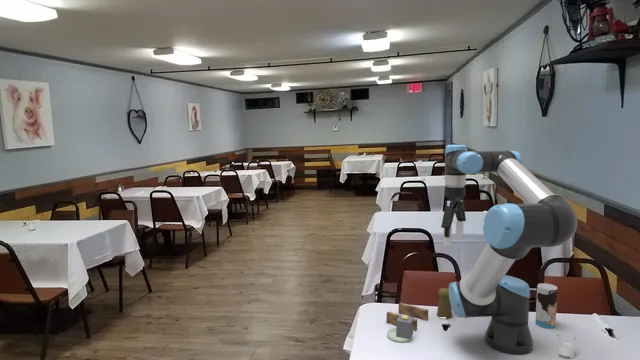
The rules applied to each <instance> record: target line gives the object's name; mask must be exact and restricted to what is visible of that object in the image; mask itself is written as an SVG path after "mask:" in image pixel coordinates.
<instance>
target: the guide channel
mask: <svg viewBox="0 0 640 360" xmlns="http://www.w3.org/2000/svg"><path fill="white" fill-rule="evenodd" d="M399 315H408V316H409V317H413V332H416V331H417V330H418V319H419V320H423V321H428V320H429V309H427V308H423V307H420V306H415V305H411V304H408V303H403V302H399V303H398V313H395V312H391V311H387V312H386V324H389V325H393V326H396V321H397V319H398V317H399Z"/></svg>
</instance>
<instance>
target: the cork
mask: <svg viewBox="0 0 640 360" xmlns="http://www.w3.org/2000/svg"><path fill="white" fill-rule="evenodd" d="M437 294H438V297H439V299H438V304H437V309H436V310H437V312H436V317H438V318H440V317H446V318H447V319H446V320H449V319H452V318H453V311H452V308H451V304H450V299H449V288H448V287H447V288H446V287H441V288H439V290H438V293H437Z"/></svg>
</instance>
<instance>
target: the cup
mask: <svg viewBox="0 0 640 360" xmlns="http://www.w3.org/2000/svg"><path fill="white" fill-rule="evenodd" d="M557 303H558V286H557V285H555V284H550V283H537V286H536V307H535V322H534V323H535V325H537V326H538V327H540V328H542V329H549V330H551V329H555V328H556V323H557V322H556V321H557Z"/></svg>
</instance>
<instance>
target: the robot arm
mask: <svg viewBox="0 0 640 360" xmlns="http://www.w3.org/2000/svg"><path fill="white" fill-rule="evenodd" d="M444 160H445V161H444V176H443V179H444V185H445V186H444V192H443V193H444V196H445V197H446V198H448V200H445V201H444V210H443V215H442V221H441V225H440V228H443V246H447V247H448V246H449V247H452V244H453V243H452V240H453V239H452V235H453V234H452V232H453V228H452V225H453V220H454V217H456V221H455V238H459V239H463V238H464V222H466V221H467V217H466V211H465V204H464V201H465V200H464V199H465V198H464V197H466V189H467V188H466V187H465V186H466V184H467V175H475V174H483V173H485V174H487V173H492V174H493V173H497V175H498V176H499V177H501V179H502V180H503V181H504V183H506V184H507V185H508V186H509V188H511V190H512V191H513V192H514V193H515V194H516V195H517V196H518V197H519V198H520V199H521V200H522V202H523V203H504V204H496V205H493V206H492V207H491V208H489V209H488V211H487V212H486V213H485V216H484V219H483V223H484V224H483V225H482V232H483V237H484V240H485V241H486V245H485V247H484V248H483V250H482V252H481V254H480V255H479V257H478V259H477V261H476V262H475V264H474V266H473V267H472V270H471V271H470V272H469V273H466V274H465V275H464V276H462V278H461V279H460V281H454V282H450V283H449V285H448V289H449V299H450V304H451V309H452V314H454V316H455V317H457V318H465V319H467V318H483V317H484V318H485V317H489V318H490V317H491V318H490V321H489V324H488V327H487V328H486V331H485V335H484V336H485V337H484V338H485V343H486V344H487V345H488V346H489V347H491V348H492V349H494V350H496V351H499V352H502V353H504V354H511V355H524V354H528V353H530V352H532V351H533V349H534V348H533V347H534V340H533V337H532V333H531V329H530V327H529V314H530V298H531V294H530V293H531V292H530V291H531V290H530V286H529V284H528V283H527V282H526V281H524V280H523V279H521V278H519V277H514V276H511V275H507V274H508V271H509V270H510V268H511V267H512V266H513V264H514V263H515V261H516V260H520V259H523V258H524V257H525V256H526V257H527V255H528V253H529V252H530V250H531V249H532V248H546V247H547V248H548V247H549V248H551V247H552V248H553V247H557V246H561V245H563V244H565V243H566V242H568V241H570V240H571V239H572V237H573V236H574V234H575V233H576V230H577V228H578V216H577V213H576V211H575V209H574V207H573V206H572V204H571V203H570V202H569V201H568V200H567V199H566V198H564V197H563V196H562V195H560V194H556V193H554V192H552V191H551V190H550V189H549V188H548V187H547V186H546V185H545V184H543V182H541V180H539V178H538V177H536V176H535V175H534V174H533V173H532V172H530V170H528V169H527V168H526V167H525V166H524V165H523V158H522V157H521V154H520V152H519V151H516V150H491V151H489V150H487V151H485V150H483V151H482V150H475V151H474V150H471V151H468V149H467V145H466V144H447V145H446V147H445V151H444Z"/></svg>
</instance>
